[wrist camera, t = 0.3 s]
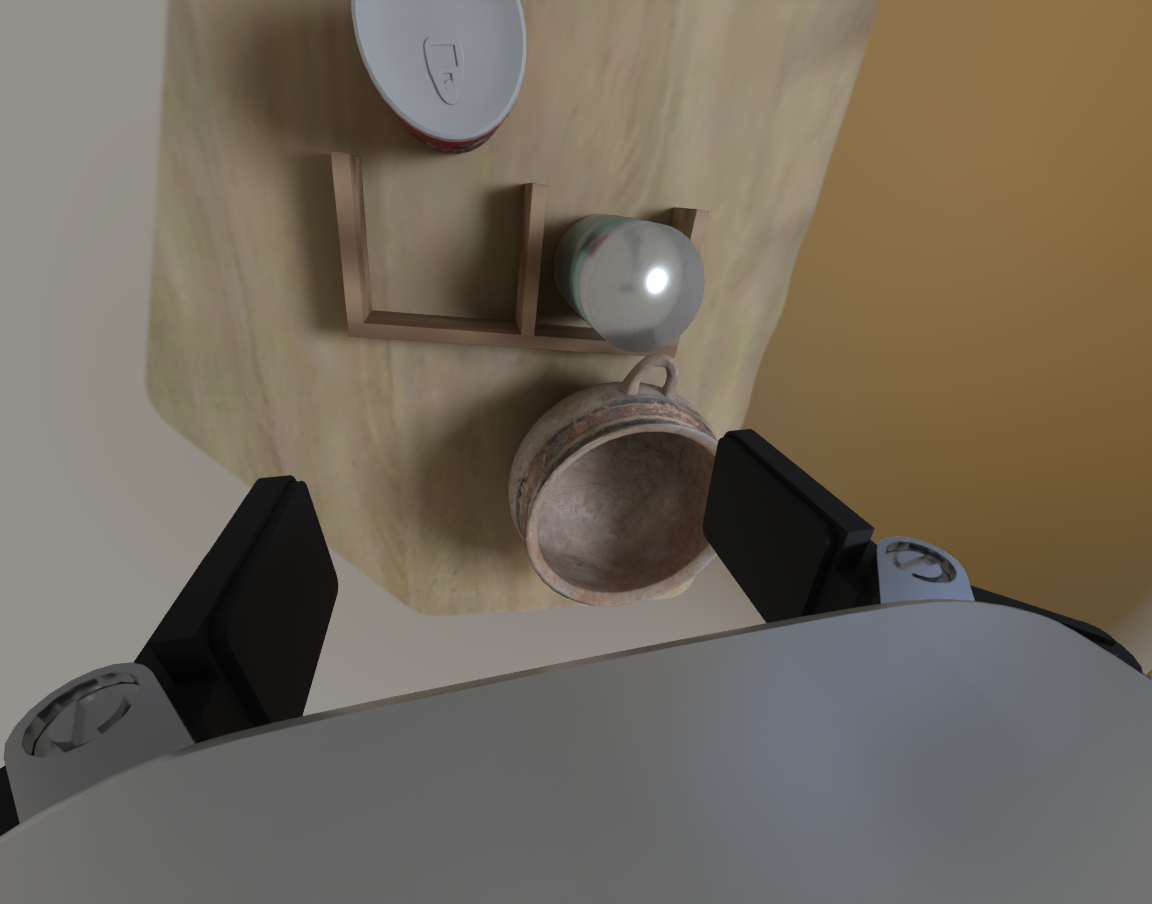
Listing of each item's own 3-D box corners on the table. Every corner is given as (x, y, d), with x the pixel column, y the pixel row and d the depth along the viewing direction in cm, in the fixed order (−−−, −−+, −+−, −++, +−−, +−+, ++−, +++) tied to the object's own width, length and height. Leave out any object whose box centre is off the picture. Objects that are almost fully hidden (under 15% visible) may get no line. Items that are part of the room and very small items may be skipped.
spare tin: (558, 206, 35) (596, 213, 26) (652, 220, 37) (719, 231, 28) (547, 310, 38) (578, 349, 29) (634, 318, 40) (688, 356, 31)
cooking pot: (518, 309, 38) (543, 355, 28) (719, 338, 43) (802, 385, 33) (488, 547, 49) (498, 643, 39) (650, 546, 55) (696, 630, 44)
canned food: (422, 172, 32) (409, 165, 23) (355, 25, 28) (306, -58, 18) (524, 130, 32) (553, 106, 23) (474, -23, 28) (484, -129, 19)
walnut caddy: (344, 155, 30) (330, 150, 27) (686, 209, 37) (709, 211, 34) (358, 322, 36) (348, 336, 32) (656, 344, 42) (674, 357, 39)
